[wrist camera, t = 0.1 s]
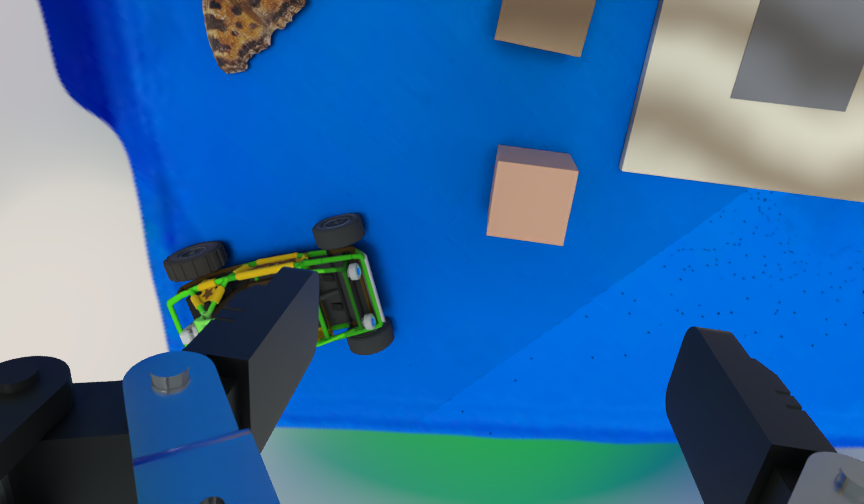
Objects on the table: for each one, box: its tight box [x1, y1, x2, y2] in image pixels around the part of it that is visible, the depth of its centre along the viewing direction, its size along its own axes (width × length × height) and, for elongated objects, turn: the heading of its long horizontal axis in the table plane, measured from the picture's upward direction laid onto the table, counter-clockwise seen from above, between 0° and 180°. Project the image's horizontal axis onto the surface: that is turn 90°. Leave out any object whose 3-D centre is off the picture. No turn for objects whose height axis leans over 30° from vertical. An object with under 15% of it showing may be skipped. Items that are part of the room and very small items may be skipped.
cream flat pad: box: [619, 0, 864, 202], centre depth 34 cm, size 18×18×1 cm
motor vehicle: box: [163, 213, 394, 355], centre depth 41 cm, size 11×18×10 cm, turn 103°
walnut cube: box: [494, 0, 596, 57], centre depth 33 cm, size 5×5×5 cm
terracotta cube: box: [487, 145, 579, 246], centre depth 37 cm, size 5×5×5 cm
